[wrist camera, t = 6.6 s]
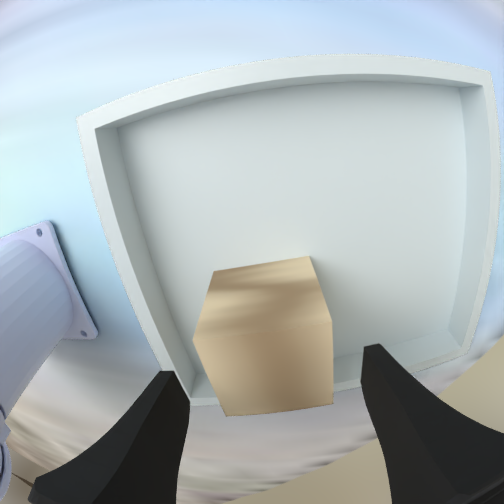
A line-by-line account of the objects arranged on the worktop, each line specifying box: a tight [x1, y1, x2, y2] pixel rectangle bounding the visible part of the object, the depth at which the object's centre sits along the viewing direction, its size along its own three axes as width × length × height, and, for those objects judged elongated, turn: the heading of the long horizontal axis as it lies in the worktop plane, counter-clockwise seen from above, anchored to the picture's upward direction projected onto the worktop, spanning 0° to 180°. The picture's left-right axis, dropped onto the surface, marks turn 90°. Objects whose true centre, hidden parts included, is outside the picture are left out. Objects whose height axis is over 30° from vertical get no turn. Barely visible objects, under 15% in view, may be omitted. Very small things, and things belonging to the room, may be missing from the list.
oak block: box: [193, 256, 333, 416], centre depth 12 cm, size 4×4×5 cm
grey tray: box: [76, 54, 501, 406], centre depth 12 cm, size 18×16×2 cm
